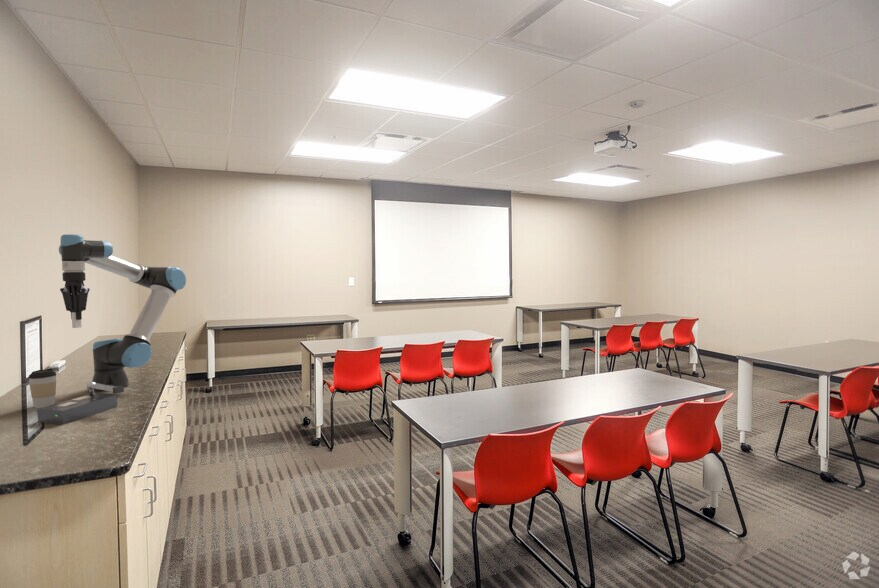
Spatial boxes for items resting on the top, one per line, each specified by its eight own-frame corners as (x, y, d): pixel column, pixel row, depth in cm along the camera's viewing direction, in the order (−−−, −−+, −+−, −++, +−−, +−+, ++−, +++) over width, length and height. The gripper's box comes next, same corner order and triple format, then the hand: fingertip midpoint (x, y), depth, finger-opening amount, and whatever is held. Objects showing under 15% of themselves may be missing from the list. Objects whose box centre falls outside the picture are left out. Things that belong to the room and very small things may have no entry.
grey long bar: (85, 388, 190) (84, 382, 190) (93, 386, 193) (92, 381, 193) (116, 393, 181) (115, 388, 181) (124, 391, 184) (123, 386, 184)
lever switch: (94, 404, 194) (93, 386, 193) (117, 406, 191) (116, 387, 191) (36, 422, 172) (35, 401, 171) (62, 424, 169) (60, 403, 169)
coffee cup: (41, 409, 188) (39, 373, 187) (24, 408, 190) (21, 372, 189) (63, 402, 197) (61, 368, 196) (46, 401, 199) (44, 367, 198)
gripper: (52, 271, 191) (55, 328, 192) (77, 271, 188) (80, 329, 189) (70, 271, 198) (73, 326, 200) (94, 271, 195) (97, 326, 197)
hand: (77, 327), depth 195 cm, fingers closed
